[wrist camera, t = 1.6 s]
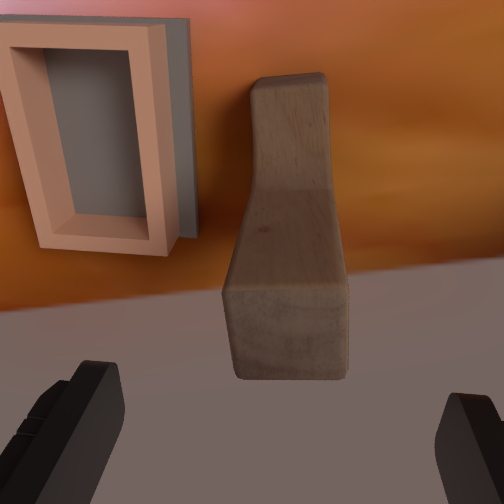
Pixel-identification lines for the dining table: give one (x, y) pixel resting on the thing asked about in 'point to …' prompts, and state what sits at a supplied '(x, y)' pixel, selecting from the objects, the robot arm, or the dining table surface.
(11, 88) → the block holder
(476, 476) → the robot arm
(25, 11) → the dining table surface
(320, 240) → the wooden block
